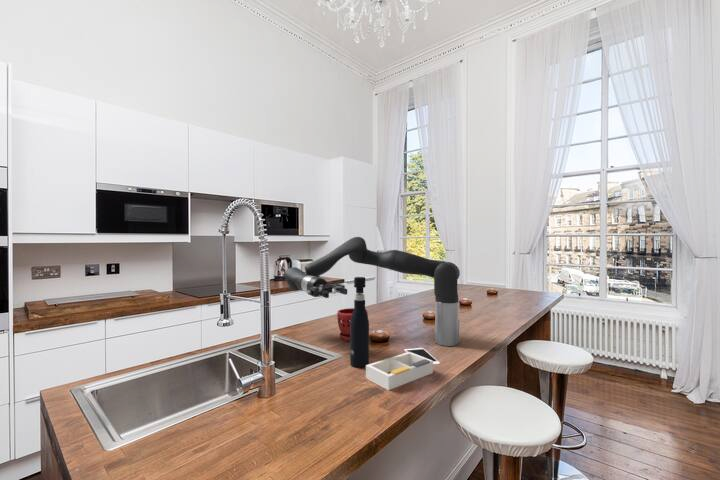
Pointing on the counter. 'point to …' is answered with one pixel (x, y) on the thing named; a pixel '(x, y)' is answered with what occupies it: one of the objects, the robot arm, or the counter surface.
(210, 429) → the counter surface
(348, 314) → the plant pot
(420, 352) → the cell phone
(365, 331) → the black water bottle
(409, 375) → the bottle holder
